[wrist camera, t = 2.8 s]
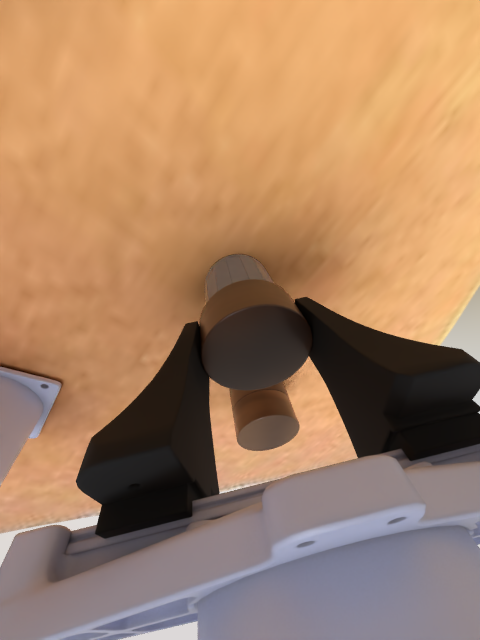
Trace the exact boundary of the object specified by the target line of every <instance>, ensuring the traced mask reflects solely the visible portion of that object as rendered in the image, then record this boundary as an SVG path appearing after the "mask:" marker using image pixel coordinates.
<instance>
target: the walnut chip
mask: <svg viewBox="0 0 480 640" xmlns="http://www.w3.org/2000/svg"><path fill="white" fill-rule="evenodd" d="M199 327H200V356H201V362H202V366H203V368H204V370H205V371H206V373H207V374H208V376H209V377H210V378H211V379H212V380H214V381H215V382H217V383H218V384H220V385H222V386H225V387H227V388H231V389H236V390H258V389H263V388H267V387H270V386H273V385H276V384H278V383H280V382H282V381H284V380H286V379H287V378H289V377H290V376H292V375H293V374H294V373H295V372H296V371H298V370H299V369H300V367H301V366H302V365H303V364H304V363H305V361H306V360H307V358H308V356H309V354H310V351H311V348H312V342H313V338H312V331H311V328H310V326H309V324H308V322H307V321H306V319H305V318H304V316H303V315H302V313H301V312H300V310H299V309H298V307H297V306H296V304H295V303H294V301H293V300H292V298H291V297H290V295H289V294H288V293H287V292H286V291H285V290H284V289H283V288H281V287H280V286H278V285H276V284H275V283H272V282H269V281H265V280H258V279H248V280H242V281H238V282H234V283H232V284H230V285H227V286H226V287H224V288H222V289H220V290H219V291H218V292H216V293H215V294H214V295H213V296H212V297H211V298H210V299H209V301H208V302H207V303H206V305H205V307H204V308H203V311H202V313H201V317H200V324H199Z"/></svg>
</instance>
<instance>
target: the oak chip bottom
mask: <svg viewBox="0 0 480 640" xmlns="http://www.w3.org/2000/svg"><path fill="white" fill-rule="evenodd" d="M261 390H277V391H281V392H283V393H284V394H286V395H287V396H288V394H287V392H286V389H285V386H284V384H283V381H282V382H280V383H278V384H276V385H273V386H270V387H267V388H263V389H258V390H236V389H231V388H230V397H231V403H232V410H234V407H235V405H236V404H237V403H238V402H239V401H240V400H241V399H242V398H244V397H245V396H247V395H249V394H251V393H254V392H257V391H261Z"/></svg>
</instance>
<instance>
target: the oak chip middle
mask: <svg viewBox="0 0 480 640" xmlns="http://www.w3.org/2000/svg"><path fill="white" fill-rule="evenodd" d="M233 417H234V423H235V430H236V437H237V442H238V444H239V445H240V446H241V447H243V448H245V449H247V450H252V451H263V450H269V449H273V448H277V447H279V446H282V445H284V444H286V443H287V442H289V441H290V440H292V439H293V438H294V437H295V436H296V434H297V433H298V431H299V422H298V420H297V417H296V415H295V412H294V410H293V407H292V404H291V402H290V399H289V397H288V396H287V395H286V394H284V393H283V392H281V391H277V390H261V391H257V392H254V393H251V394H249V395H247V396H245V397H244V398H242V399H241V400H240V401H239V402H238V403H237V404H236V405H235V407H234V410H233Z"/></svg>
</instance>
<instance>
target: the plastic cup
mask: <svg viewBox="0 0 480 640" xmlns="http://www.w3.org/2000/svg"><path fill="white" fill-rule="evenodd" d="M248 279H258V280H265V281H269V282H272V283H274V282H273V281H272V279H271V277H270V276H269V274H268V273H267V271H266V269H265V268H264V266H263V265H262V264H261V263H260V262H259V261H258V260H257V259H255V258H253V257H251V256H248V255H243V254H234V255H229V256H226V257H224V258H222V259H220V260H219V261H217V262H216V263H215V264H214V265H213V266H212V267H211V268H210V270H209V272H208V274H207V276H206V280H205V301H206V303H207V302H208V301H209V299H210V298H211V297H212V296H213V295H214V294H215V293H216V292H218V291H219V290H220V289H222V288H224V287H226V286H227V285H230V284H232V283H234V282H238V281H242V280H248Z"/></svg>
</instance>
